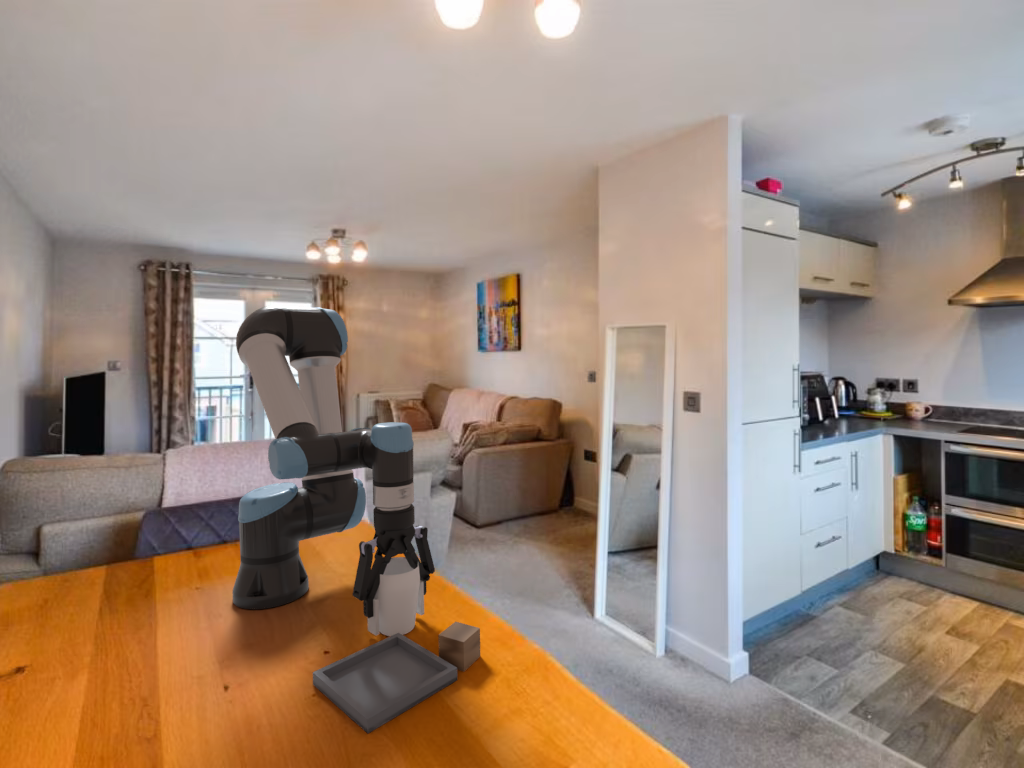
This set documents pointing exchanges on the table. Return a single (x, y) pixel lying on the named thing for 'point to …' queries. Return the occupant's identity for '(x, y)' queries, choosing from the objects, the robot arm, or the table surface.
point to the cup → (398, 597)
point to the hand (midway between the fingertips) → (396, 622)
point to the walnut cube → (460, 645)
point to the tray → (383, 680)
